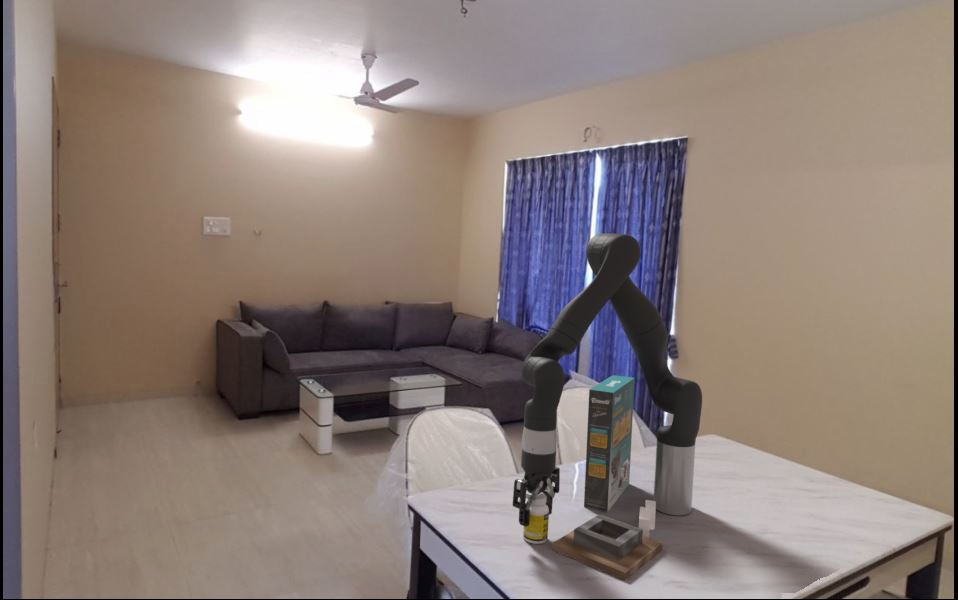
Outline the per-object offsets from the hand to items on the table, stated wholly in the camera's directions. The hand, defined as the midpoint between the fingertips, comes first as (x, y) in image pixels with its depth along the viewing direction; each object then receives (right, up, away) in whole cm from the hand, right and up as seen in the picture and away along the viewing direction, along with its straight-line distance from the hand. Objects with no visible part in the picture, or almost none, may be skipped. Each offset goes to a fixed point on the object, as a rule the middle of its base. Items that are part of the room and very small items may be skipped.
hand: (535, 519), depth 130 cm
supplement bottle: (0, -5, 0) cm, 5 cm away
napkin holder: (+27, -6, +7) cm, 28 cm away
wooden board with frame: (+15, -5, -4) cm, 16 cm away
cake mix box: (+22, -4, +27) cm, 35 cm away
